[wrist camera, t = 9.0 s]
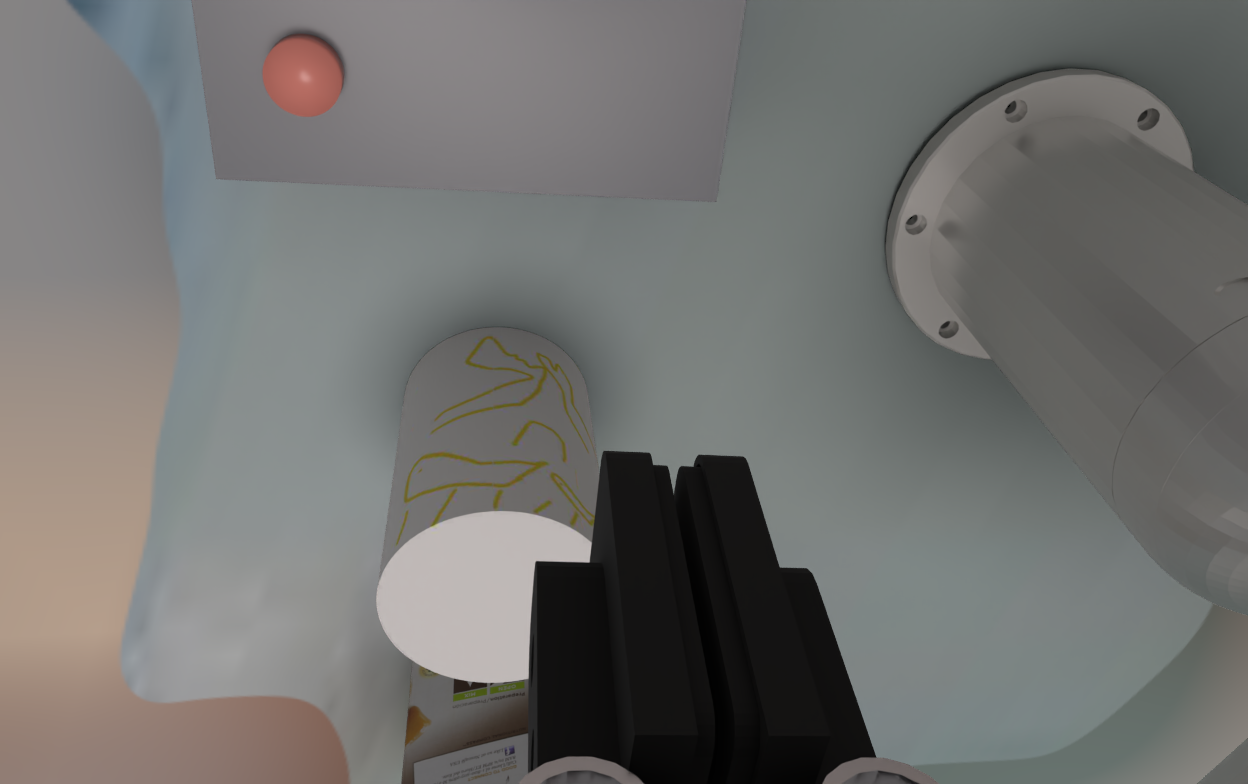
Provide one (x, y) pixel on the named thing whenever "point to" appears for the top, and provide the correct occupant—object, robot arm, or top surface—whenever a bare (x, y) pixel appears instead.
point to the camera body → (473, 93)
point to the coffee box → (465, 731)
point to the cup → (484, 499)
